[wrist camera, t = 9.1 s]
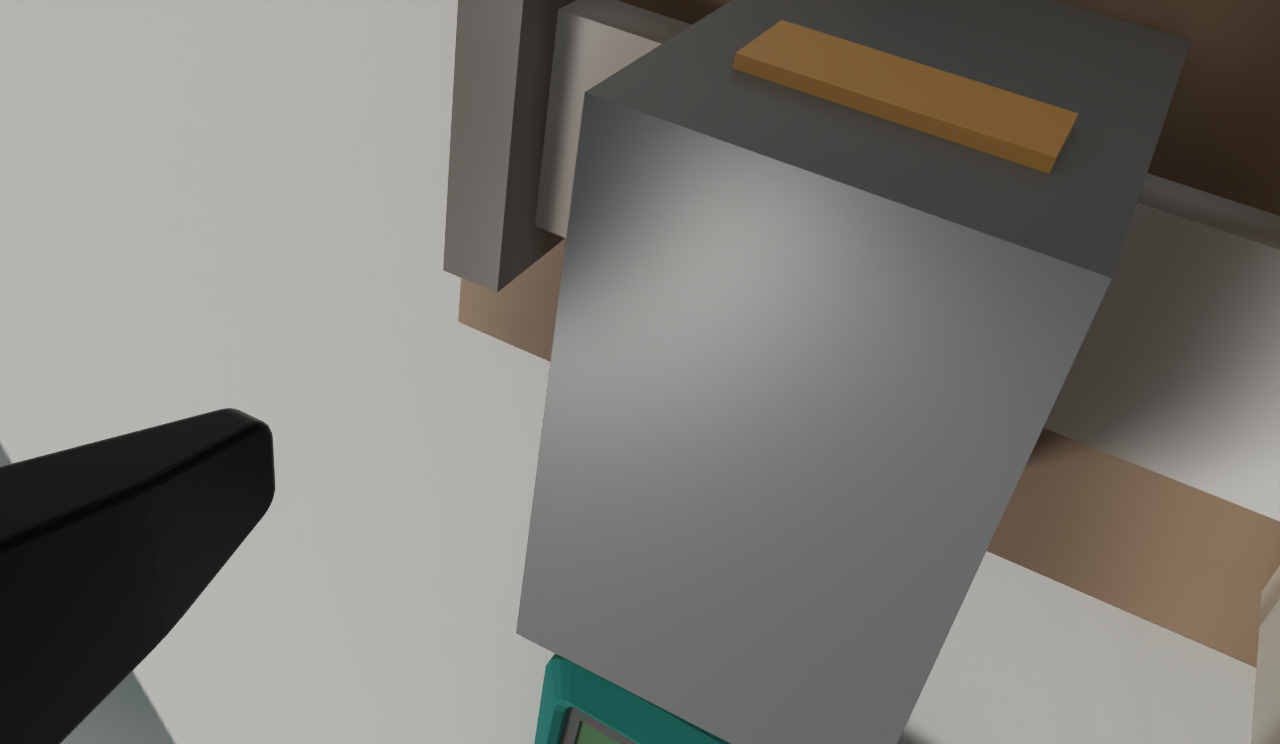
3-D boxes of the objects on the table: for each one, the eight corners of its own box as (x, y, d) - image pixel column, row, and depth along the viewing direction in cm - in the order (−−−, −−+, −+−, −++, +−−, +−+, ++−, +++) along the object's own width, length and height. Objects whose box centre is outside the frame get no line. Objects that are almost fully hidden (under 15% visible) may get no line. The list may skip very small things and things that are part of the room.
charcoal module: (1196, 27, 14) (1120, 260, 9) (994, 480, 18) (865, 813, 13) (835, -75, 15) (586, 75, 10) (729, 370, 19) (515, 633, 14)
